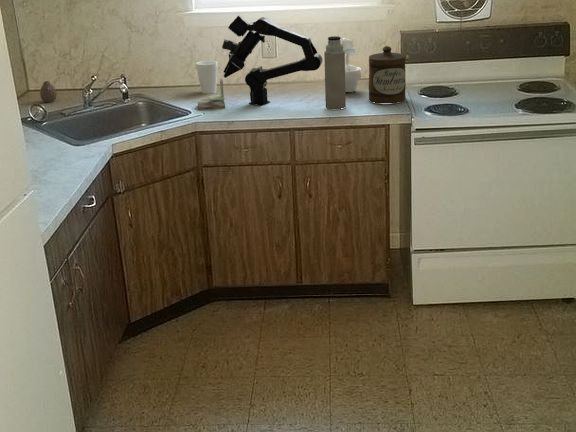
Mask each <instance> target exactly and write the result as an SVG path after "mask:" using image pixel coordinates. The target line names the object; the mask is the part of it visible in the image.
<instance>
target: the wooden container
mask: <svg viewBox="0 0 576 432" xmlns="http://www.w3.org/2000/svg"><path fill="white" fill-rule="evenodd" d="M382 51H383V52H380V53H379V52H378V53H374V54H371V55H369V56H368V101H369V100H370V101H371V102H375V103H397V102H401V103H403V102H402V101H404V100H405V101H406V86H407V85H406V83H407V82H406V79H407V78H406V54H404V53H399V52H391V51H392V47H391V46H388V45H386V46H384V47H383V48H382ZM370 101H369V102H370ZM405 101H404V102H405ZM371 102H370V103H371ZM375 103H374V104H375Z"/></svg>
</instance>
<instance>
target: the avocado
mask: <svg viewBox="0 0 576 432" xmlns="http://www.w3.org/2000/svg"><path fill="white" fill-rule="evenodd" d="M57 94H58V93H57V90H56V88H55V87H54V85H53V84H51V83H50V81H49V80H47V81H43V83H42V85H41V87H40V89H39V95H40V99H41V100H42V101H43V102H44V103H45V104H46V103H48V104H49V103H54V102H55V101H56V100H57V97H58V96H57Z"/></svg>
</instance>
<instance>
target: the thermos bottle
mask: <svg viewBox="0 0 576 432" xmlns="http://www.w3.org/2000/svg"><path fill="white" fill-rule="evenodd" d="M338 36H339V35H337V36H335V35H334V36H328V37H327V40H328V41H327V45H326V46H325V51H324V52H323V53H324V55H323V56H324V87H325V88H324V90H325V91H324V92H325V93H324V94H325V96H324V97H325V99H324V100H325V109H326V108H327V110H329V109H340V110H342V109H341V108H344V107H345V108H346V107H347V106H346V102H347V101H346V93H345V65H346V54H345V51H344V50H343V45H342V42H341V36H339V37H338ZM345 108H344V109H345Z"/></svg>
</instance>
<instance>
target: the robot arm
mask: <svg viewBox="0 0 576 432" xmlns="http://www.w3.org/2000/svg"><path fill="white" fill-rule="evenodd" d="M227 28H228V30H229V31H231V32H232V33H233V34H235V35H236V36H237V37H238V38H240V37H242V38H243V39H242V40H241V41H239V42H238V43H236V42H234V41H232V40H230V39H229V40H228V39H225V38H224V39H223V42H222V46H221V48H222V49H223V50H228V51H229V52H228V61H227V63H226V66H225V68H224V70H223V73H224V74H223V77H224V78H225V79H226V78H228V77H230V76H232V75H234V74H235V73H237V72H239V71H241V70H243V69H244V68H245V67H246V66H245V65H246V64H245V62H246V61H247V60H246V59H247V58H248V57H249V55H250V54H252V52H253V51H254V49H255V48H256V46H257V45H258V44H259V42H261V43H265V42H266V38H265V37H266V36H270V37H276V38H279V39H281V40H283V41H286V42H289V43H290V44H291V43H292V44H294V45H296V46H299V47H301V50H302V52H303V54H304V57H303V58H302V59H300V60H296V61H292V62H290V63H286V64H282V65H278V66H275V67H271V68H268V69H267V68H266V69H265V68H263V66H262V65H261V66H259V67H256V68H255V67H253V68H251V70H250V71H249V72H248V73H247V74H246V75H245V77H244V82H245V84H246V86H248V87H249V89H250V92H249V97H250V98H249V99H250V102H248V104H249V105H253V106H260V107H261V106H264V105H266V104H269V103H271V100H268V88H266V87H267V84H268V80H271V79H274V78H279V77H283V76H287V75H289V74H294V73H297V72H310V71H311V72H312V71H317V70H318V69H320V67H321V66H322V64H323V57H322V55H321V54H320V53H318V50H317V48H316V47H315V46H314V44H313V42H312V39H311V38H310V37H309V36H307V35H303V34H299V33H297V32H294V31H292V30H289V29H286V28H284V27H282V26H279V25H278V24H276V23H275V22H274V21H272V20H271V19H269V18H268V17H264V16H263V17H260V18H258V19H257V20H256V21H253V22H248V21H247V20H245V19H244V18H243V17H242V16H241V15H239V14H238V15H237V16H236V18H235V19H234V20H233V21H232V22H231V23H230V24H229V25H228V27H227Z"/></svg>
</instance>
